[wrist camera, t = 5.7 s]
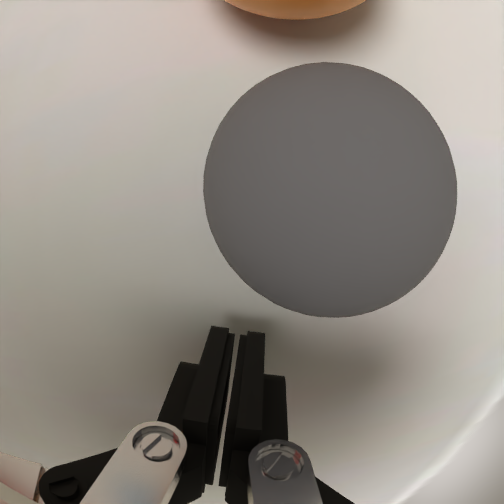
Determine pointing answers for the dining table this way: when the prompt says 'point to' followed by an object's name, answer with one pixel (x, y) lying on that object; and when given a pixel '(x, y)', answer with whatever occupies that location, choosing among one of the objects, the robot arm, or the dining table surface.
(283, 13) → the object ball
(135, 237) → the dining table surface
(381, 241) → the gray sphere
